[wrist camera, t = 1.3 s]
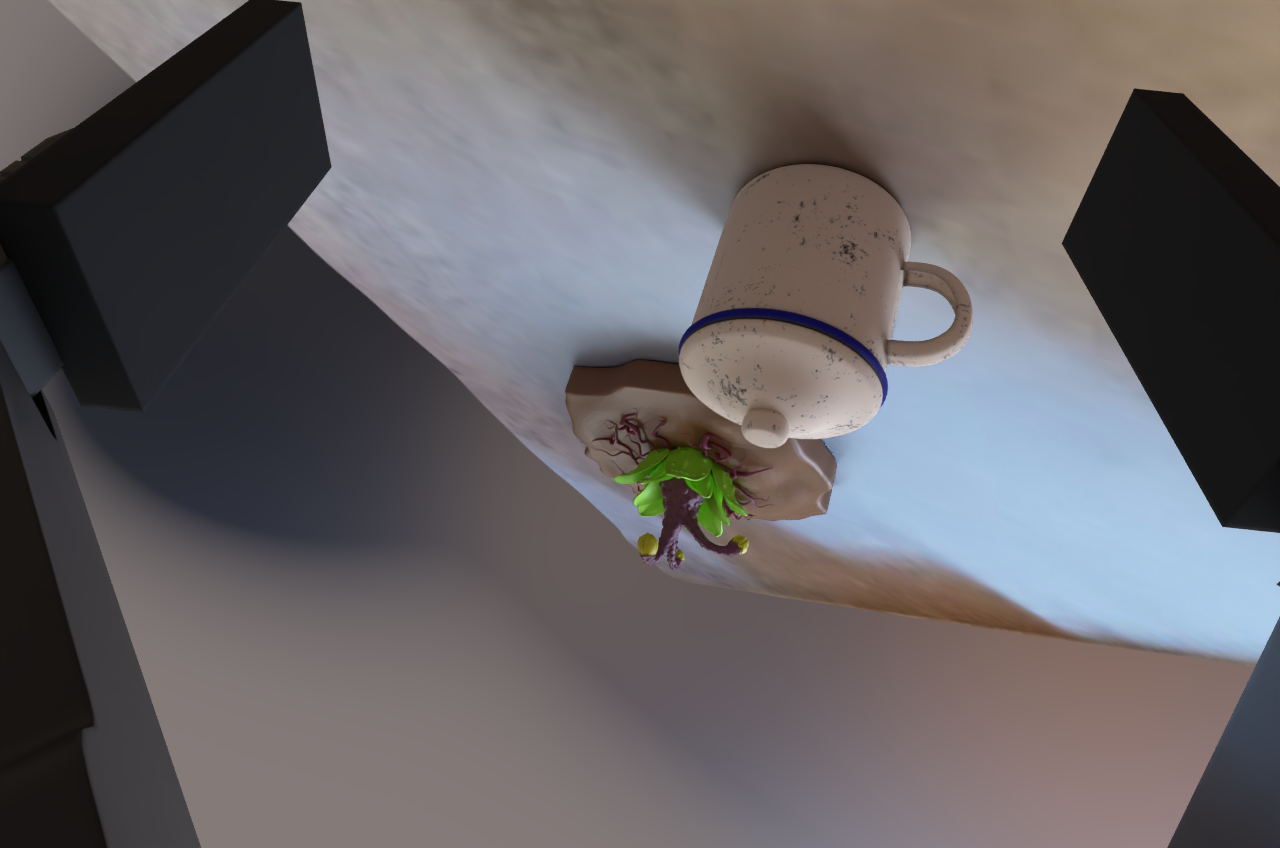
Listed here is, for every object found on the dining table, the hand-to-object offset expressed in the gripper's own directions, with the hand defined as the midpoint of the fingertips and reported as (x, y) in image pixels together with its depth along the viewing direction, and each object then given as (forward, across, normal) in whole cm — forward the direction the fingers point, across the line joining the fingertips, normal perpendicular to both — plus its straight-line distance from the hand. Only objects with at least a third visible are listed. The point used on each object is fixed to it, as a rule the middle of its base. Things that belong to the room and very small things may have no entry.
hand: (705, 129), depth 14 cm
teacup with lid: (+23, +8, -14) cm, 28 cm away
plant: (+33, +4, -37) cm, 50 cm away
